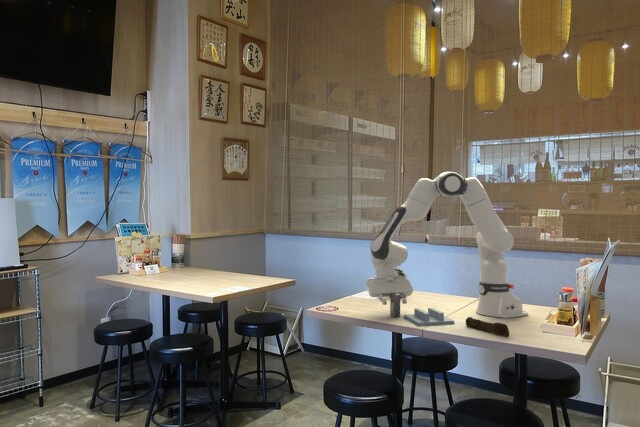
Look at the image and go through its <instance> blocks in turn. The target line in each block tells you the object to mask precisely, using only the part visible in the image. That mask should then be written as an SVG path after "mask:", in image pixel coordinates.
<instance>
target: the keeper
mask: <svg viewBox="0 0 640 427" xmlns="http://www.w3.org/2000/svg"><path fill="white" fill-rule="evenodd" d="M427 309H428V310H427V311H425V310H424V309H421V308H419V307H418V308H414V309H413V310H414V311H413V312H414V314H412V313H411V314H410V313H409V314H404V319H406V320H408V321H410V322H411V321H412V322H411V323H413V324H415V325H417V326H418V325H419V326H421V327H423V326H434V325H453V324H455V320H454V319H451V318H449V317H447V316H445V313H444V312H442V311H441V310H439V309H437V308H434V307H427Z"/></svg>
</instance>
